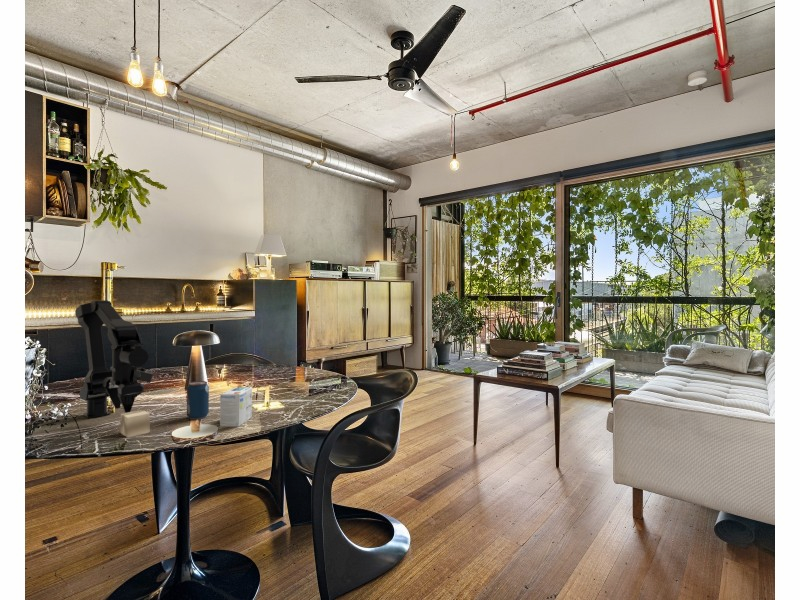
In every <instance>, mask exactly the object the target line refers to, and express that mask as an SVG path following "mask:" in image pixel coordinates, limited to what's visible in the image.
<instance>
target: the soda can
mask: <svg viewBox="0 0 800 600" xmlns="http://www.w3.org/2000/svg"><path fill="white" fill-rule="evenodd" d="M209 400H210V386H209V384H208V382H207V380H206V381H205V380H200V381H198V380H197V381H191V382H189V383H188V386H187V388H186V416H187V418H188V419H189V420H201V419H204V418H206V417H208V414H209V413H210V412H209V411H210V407H209V405H210V401H209Z"/></svg>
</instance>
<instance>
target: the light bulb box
mask: <svg viewBox="0 0 800 600" xmlns="http://www.w3.org/2000/svg"><path fill="white" fill-rule="evenodd" d="M219 397H220V398H219V399H220V400H219V401H220V402H219V403H220V405H219V406H220V407H219V408H220V409H219V413H220V415H219V416H220V417H219V427H229V428H231V427H233V428H235V427H236V428H239V427H240V426H242V425H243V424H244V423H246V422H247V421H249V419H252V414H253V412H252V411H253V409H252V408H253V407H252V405H253V404H252V403H253V401H252V400H253V399H252V398H253V387H251V386H250V387H249V386H238V387H237V386H233V387H231V388H229V390H226V391H224V392H223V393H220V395H219Z"/></svg>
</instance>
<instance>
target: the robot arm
mask: <svg viewBox="0 0 800 600" xmlns="http://www.w3.org/2000/svg"><path fill="white" fill-rule="evenodd" d="M74 314H75V318H76V319H77V323H78V325H79V326H80V327H81V328H82V329H83V330H84V334H85V343H86V344H85V345H86V352H87V359H88V360H87V362H88V372H87V374H86V376H85V377H84V378H83V379H84V384H83V385H82V387H81V389H80V392H79V399H80V400H82V401H84V402H85V401H86V412H84V413H83V414H82V415H83V416H84V417H85V418H87V419H91V418H93V419H94V418H98V417H102V416H108V415H111V414H112V413H111V412H110V411H108V397H109V399H110V401H111V402H112V405H113V406H114V408H115V409H116V410H118V409H119V410H120V408H121V406H122V410H123V411H124V413H128V412H132V408H133V406H134V403H135V400H136V398H137V397H138V396H139V395H142V393H143V392H145V386H144V384H142V383H141V382H145V383H148V384H151V383H152V380H153V377H154V375H155V374H154V373H152V372H149V371H146V368H145V367H143V366H144V365H145V364H146V363H147V362H148V360H149V354H148V352H147V350H146V349H144V348H143V346H144V344H143V338H142V336H141V333H140V332H139V329H138V328H137V326H136V325H135V324H134V323H133V322H131V321H128V320H125V319H123V318H122V316H121V315H120V314H119V313H118V312H117V311H116V309H115V308H114V306H113V305H112V302H111V301H110V300H108V299H105V300H104V299H103V300H97V299H96V300H92V301H90V302H87V303H83V304H80V305H79V306H78V307H76V308H75V312H74ZM103 325H105V327H106V328H107V334H106V336H107V338H108V341H109V342H110V343H111V344H112V345H111V346H110V349H111V350H112V356H111V357H112V362H111V363H112V365H111V366H110V367H109V368H108V367H107V364H106V357H105V349H104V348H105V346H104V340H103V339H104V338H103V330H102V329H103ZM109 369H110V370H109ZM138 381H141V382H138Z"/></svg>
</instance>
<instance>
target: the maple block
mask: <svg viewBox="0 0 800 600" xmlns="http://www.w3.org/2000/svg"><path fill="white" fill-rule="evenodd" d="M150 419H151V413H150V412H148V411H146V410H144V409H140V410H133V411H131V412H128V413H125V412H124V413H120V426H119V427H120V431H119V433H120V434H121V435H123V436H124V437H126V438H131V437H135V436H140V435H144V434H147V433H150V431H151V430H150V428H151V427H150V426H151V425H150V424H151V423H150V422H151V420H150Z"/></svg>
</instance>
